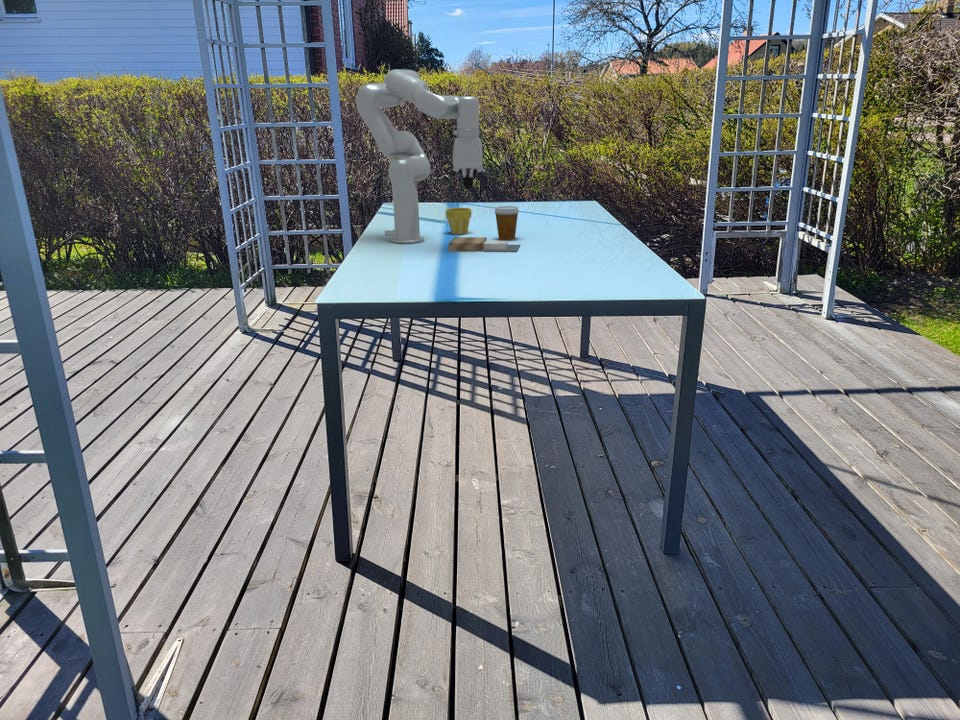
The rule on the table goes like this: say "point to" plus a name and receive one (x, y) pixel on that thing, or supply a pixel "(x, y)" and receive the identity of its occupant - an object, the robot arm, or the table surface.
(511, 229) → the disposable coffee cup
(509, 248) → the mat
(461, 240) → the block
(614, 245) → the table surface
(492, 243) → the tile
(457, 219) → the plant pot
